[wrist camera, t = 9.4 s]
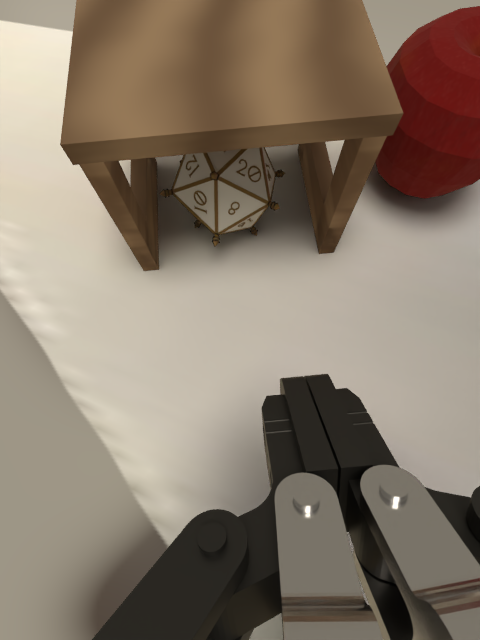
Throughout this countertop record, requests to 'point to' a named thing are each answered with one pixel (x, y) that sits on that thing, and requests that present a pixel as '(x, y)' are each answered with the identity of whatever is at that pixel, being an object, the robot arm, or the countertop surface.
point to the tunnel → (224, 98)
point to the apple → (436, 108)
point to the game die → (226, 188)
